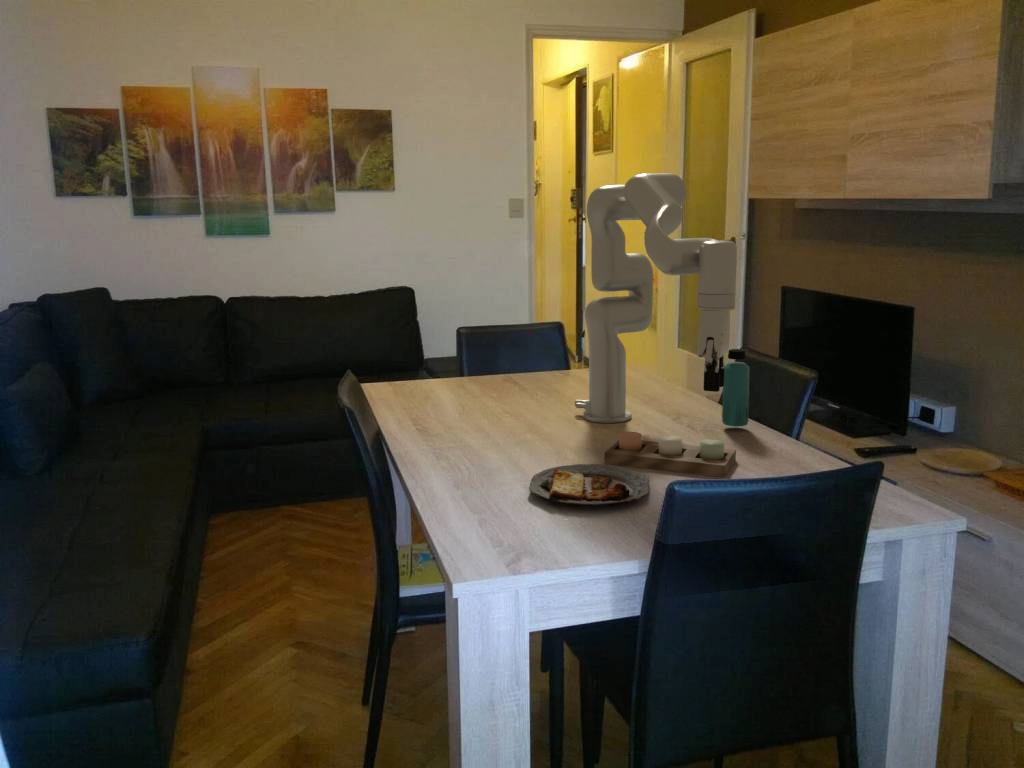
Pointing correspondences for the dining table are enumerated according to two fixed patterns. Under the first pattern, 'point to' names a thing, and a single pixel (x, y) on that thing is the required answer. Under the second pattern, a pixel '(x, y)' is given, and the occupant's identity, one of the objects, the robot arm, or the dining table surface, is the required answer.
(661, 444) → the cream button
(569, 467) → the food plate
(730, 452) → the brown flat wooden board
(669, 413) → the dining table surface
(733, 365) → the beverage bottle
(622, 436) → the terracotta button
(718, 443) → the sage button
